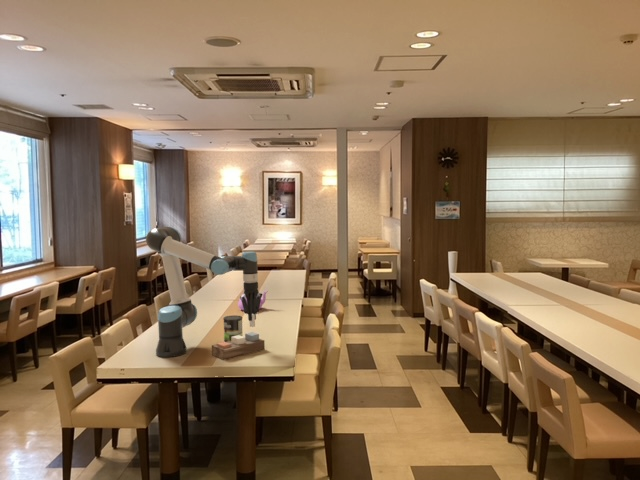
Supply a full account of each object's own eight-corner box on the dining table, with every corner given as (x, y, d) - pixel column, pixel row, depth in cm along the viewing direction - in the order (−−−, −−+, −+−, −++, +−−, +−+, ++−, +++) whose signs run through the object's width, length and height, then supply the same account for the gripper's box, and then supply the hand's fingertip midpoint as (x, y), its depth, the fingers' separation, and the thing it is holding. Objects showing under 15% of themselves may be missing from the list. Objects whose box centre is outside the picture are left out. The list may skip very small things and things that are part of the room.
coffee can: (231, 346, 268) (230, 320, 267) (220, 342, 275) (219, 317, 274) (246, 342, 275) (246, 317, 274) (235, 339, 282) (235, 314, 281)
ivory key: (231, 342, 257) (231, 336, 257) (238, 340, 260) (238, 335, 260) (237, 344, 253) (237, 339, 253) (245, 343, 256) (245, 337, 256)
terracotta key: (217, 349, 252) (216, 343, 252) (224, 347, 255) (224, 341, 255) (223, 351, 247) (223, 345, 247) (231, 349, 250) (231, 344, 250)
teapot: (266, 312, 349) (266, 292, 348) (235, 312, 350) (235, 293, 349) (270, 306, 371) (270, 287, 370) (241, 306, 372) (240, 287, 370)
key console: (212, 354, 253) (211, 345, 253) (251, 345, 270) (251, 336, 269) (224, 360, 245) (224, 350, 244) (264, 349, 261) (264, 340, 260)
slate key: (245, 339, 263) (245, 333, 263) (252, 337, 266) (252, 332, 266) (251, 341, 259) (251, 335, 259) (259, 339, 262) (258, 334, 262)
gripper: (244, 283, 253) (246, 330, 255) (265, 280, 262) (266, 325, 264) (236, 282, 258) (237, 327, 260) (256, 279, 267) (258, 323, 269)
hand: (252, 326), depth 262 cm, fingers closed
